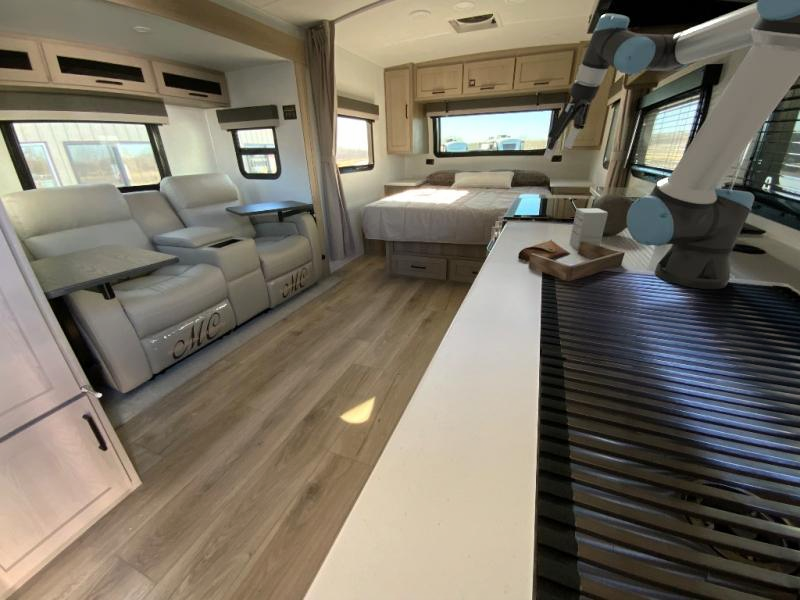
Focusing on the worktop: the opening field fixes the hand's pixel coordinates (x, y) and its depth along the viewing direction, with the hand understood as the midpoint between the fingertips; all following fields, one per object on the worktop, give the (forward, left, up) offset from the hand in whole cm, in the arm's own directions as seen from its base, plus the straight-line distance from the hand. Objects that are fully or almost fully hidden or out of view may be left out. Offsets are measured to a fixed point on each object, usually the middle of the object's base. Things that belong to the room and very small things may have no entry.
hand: (557, 152), depth 115 cm
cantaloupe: (-12, -21, -30) cm, 38 cm away
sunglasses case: (-16, +19, -30) cm, 39 cm away
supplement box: (-17, 0, -30) cm, 34 cm away
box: (-27, +19, -30) cm, 44 cm away
